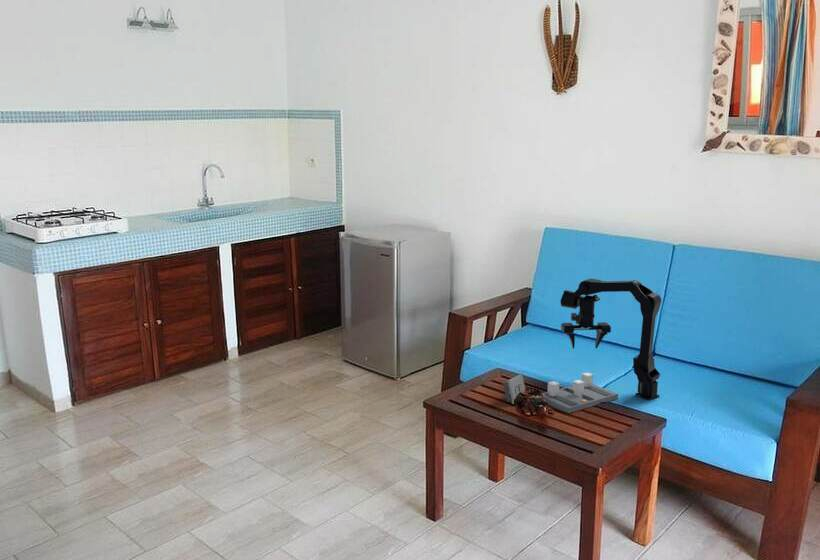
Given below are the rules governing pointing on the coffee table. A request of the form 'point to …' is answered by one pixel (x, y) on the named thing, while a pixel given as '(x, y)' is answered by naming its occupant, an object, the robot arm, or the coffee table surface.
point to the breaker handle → (578, 387)
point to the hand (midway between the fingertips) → (584, 348)
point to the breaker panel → (571, 402)
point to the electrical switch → (513, 387)
